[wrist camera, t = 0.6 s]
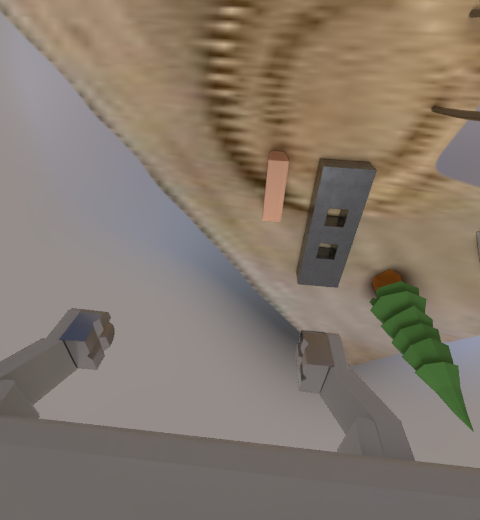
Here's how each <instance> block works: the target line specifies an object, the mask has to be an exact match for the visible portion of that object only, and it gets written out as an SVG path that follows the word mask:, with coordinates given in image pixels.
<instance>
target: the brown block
mask: <svg viewBox="0 0 480 520" xmlns="http://www.w3.org/2000/svg"><path fill="white" fill-rule="evenodd" d="M288 166H289V158H288V157H286V155H285V152H281V151H270V156H269V158H268V168H267V178H266V188H265V198H264V208H263V221H276V222H281V215H282V208H283V201H284V194H285V187H286V180H287V173H288Z"/></svg>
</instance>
